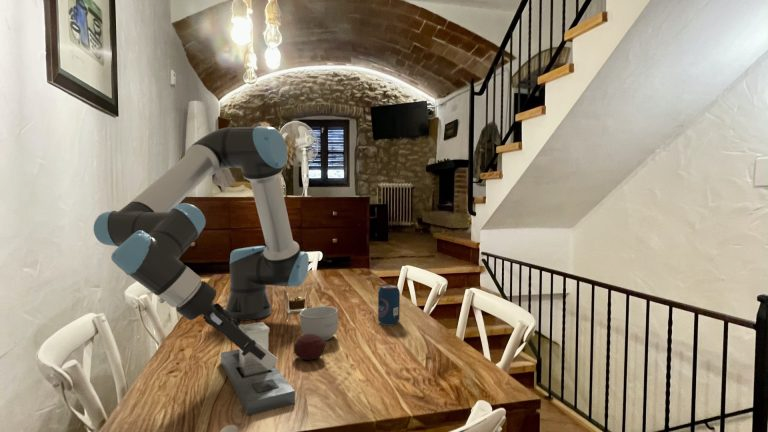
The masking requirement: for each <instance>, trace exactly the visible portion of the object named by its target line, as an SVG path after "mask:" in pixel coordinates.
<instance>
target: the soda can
mask: <svg viewBox="0 0 768 432" xmlns="http://www.w3.org/2000/svg"><path fill="white" fill-rule="evenodd" d="M400 291H401V290H400V289H399V286H398V285H397V284H389V283H387V284H382V285H380V286H379V289H378V292H377V293H378V295H377V297H378V298H377V301H378V302H377V317H378V318H377V319H378V322H379V324H380V325H383V326H395V325H397V324H398V322H400V312H401V311H400V307H401V304H400V300H401V299H400V293H401V292H400ZM394 324H395V325H394Z"/></svg>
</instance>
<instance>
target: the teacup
mask: <svg viewBox="0 0 768 432" xmlns="http://www.w3.org/2000/svg"><path fill="white" fill-rule="evenodd" d="M338 312H339V311H338V308H336V307H333V306H326V305H325V304H323V305H320V306H313V307H308V308H305V309H303V310H301V311H300V312H299V317H300V318H299V319H300V330H301V333H302V335H305V334H314V335H318V336H320V337H321V338H322V339H323V340H324V341H328V340H330V339H332V337H333V336H334V335H335V334H336V333H337V332H338V329H339V328H338V327H339V320H338V319H339V316H338Z"/></svg>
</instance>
